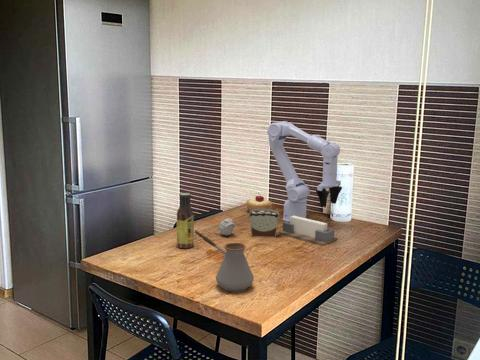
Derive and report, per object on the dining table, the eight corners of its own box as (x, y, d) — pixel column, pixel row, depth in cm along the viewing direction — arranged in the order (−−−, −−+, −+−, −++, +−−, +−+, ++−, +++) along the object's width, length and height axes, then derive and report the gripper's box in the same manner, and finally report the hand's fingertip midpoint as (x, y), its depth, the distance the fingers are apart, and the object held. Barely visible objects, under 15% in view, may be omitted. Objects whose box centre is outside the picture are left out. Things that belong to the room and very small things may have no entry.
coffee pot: (260, 284, 163) (261, 237, 160) (239, 297, 153) (240, 248, 150) (205, 269, 174) (205, 225, 171) (182, 281, 165) (182, 234, 162)
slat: (289, 231, 213) (289, 216, 212) (293, 229, 215) (293, 215, 214) (323, 239, 203) (323, 224, 202) (326, 238, 205) (327, 223, 204)
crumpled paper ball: (225, 239, 205) (225, 221, 204) (215, 234, 211) (215, 217, 210) (238, 236, 209) (238, 219, 207) (228, 231, 214) (228, 215, 213)
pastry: (250, 216, 238) (250, 196, 236) (243, 209, 249) (243, 191, 247) (275, 214, 241) (276, 195, 239) (267, 207, 252) (267, 189, 250)
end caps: (282, 230, 214) (282, 222, 213) (291, 227, 218) (291, 219, 217) (325, 242, 200) (325, 233, 200) (334, 238, 205) (334, 229, 204)
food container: (279, 233, 214) (280, 208, 212) (279, 237, 208) (280, 213, 206) (249, 231, 215) (249, 207, 213) (248, 236, 209) (248, 211, 207)
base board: (279, 233, 213) (279, 231, 212) (294, 228, 220) (294, 226, 220) (322, 245, 199) (322, 243, 199) (337, 239, 206) (337, 237, 206)
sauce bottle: (191, 249, 193) (190, 196, 189) (174, 248, 194) (173, 195, 190) (196, 244, 199) (195, 192, 195) (180, 242, 201) (179, 191, 196)
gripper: (328, 176, 210) (326, 209, 213) (347, 171, 221) (346, 203, 224) (313, 174, 215) (312, 206, 218) (333, 169, 225) (331, 200, 228)
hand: (328, 204), depth 221 cm, fingers open, 7 cm apart
